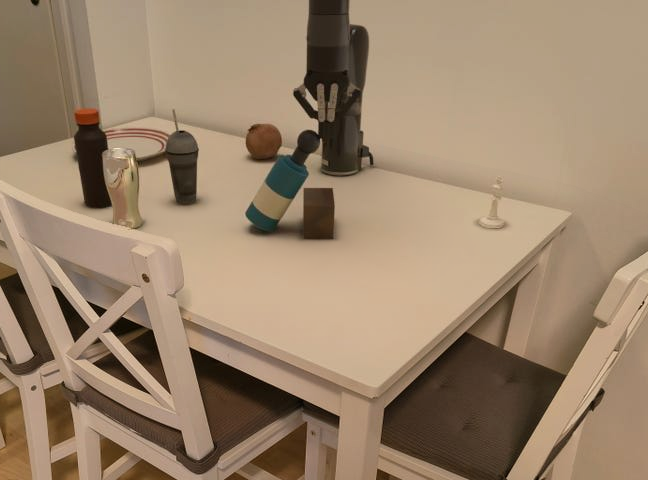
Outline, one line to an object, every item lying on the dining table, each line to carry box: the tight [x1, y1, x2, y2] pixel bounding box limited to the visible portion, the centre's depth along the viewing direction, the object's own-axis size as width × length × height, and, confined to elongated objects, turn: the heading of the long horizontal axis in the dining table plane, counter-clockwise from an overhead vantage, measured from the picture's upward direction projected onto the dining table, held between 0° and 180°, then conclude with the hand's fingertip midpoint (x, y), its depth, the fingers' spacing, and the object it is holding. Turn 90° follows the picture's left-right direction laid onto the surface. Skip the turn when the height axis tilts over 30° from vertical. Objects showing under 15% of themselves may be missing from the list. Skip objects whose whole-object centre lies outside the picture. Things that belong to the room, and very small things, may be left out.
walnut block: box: [302, 187, 336, 240], centre depth 139 cm, size 6×10×7 cm, turn 178°
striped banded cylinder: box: [245, 129, 321, 232], centre depth 135 cm, size 17×7×19 cm, turn 86°
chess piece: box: [478, 175, 505, 229], centre depth 139 cm, size 5×5×10 cm
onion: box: [245, 123, 283, 160], centre depth 179 cm, size 10×9×10 cm
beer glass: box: [102, 148, 143, 230], centre depth 139 cm, size 7×7×15 cm
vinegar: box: [73, 107, 112, 209], centre depth 148 cm, size 7×7×20 cm
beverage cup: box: [164, 108, 200, 206], centre depth 149 cm, size 7×7×20 cm
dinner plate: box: [71, 126, 172, 163], centre depth 184 cm, size 28×27×3 cm
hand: (325, 140), depth 130 cm, fingers closed
